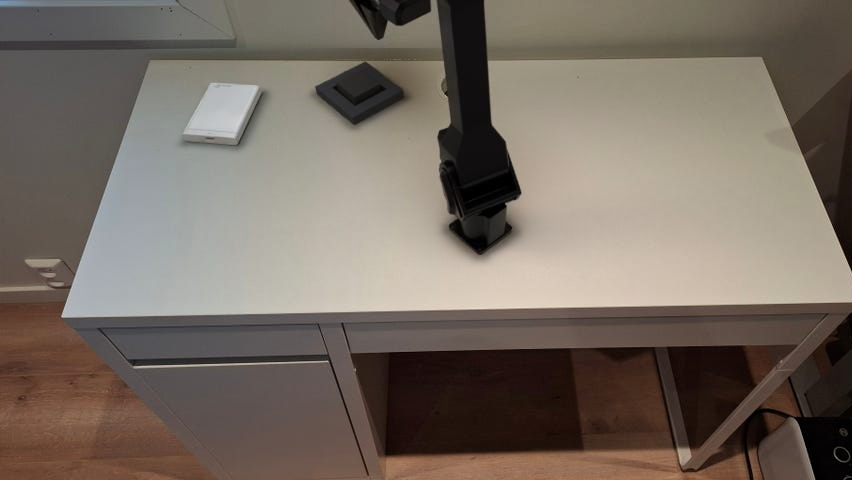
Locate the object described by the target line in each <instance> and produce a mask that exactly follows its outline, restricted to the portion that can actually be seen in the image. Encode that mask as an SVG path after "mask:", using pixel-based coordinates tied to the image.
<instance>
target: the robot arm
mask: <svg viewBox="0 0 852 480" xmlns="http://www.w3.org/2000/svg"><path fill="white" fill-rule="evenodd" d="M348 1H349V3H350V4H351V6H352V7H353V8H354V10H355V11H356V13H357V14H358V15H359V17H360V19H361V20H362V21H363V23H364V25H365V26H366V27H367V29H368V30H369V31H370V33H371V34H372V36H373V38H374V39H376V41H380V40H382V39H384V37H385V35H386V30H387V26H388V22H389V23H391V24H393V25H394V26H396V27H403V26H406V25H407V24H409V23H412V22H414V21H415V20H417V19H419V18H421V17H423V16H426V15H428V14H430V13H431V12H432V0H348ZM436 7H437V15H438V24H439V34H440V39H441V40H440V42H441V49H442V50H441V51H442V58H443V67H444V76H445V83H446V93H447V102H448V111H449V118H450V119H449V120H450V123H449V125H448V127H445V128H441V129H439V130H438V133H437V136H436V139H437V143H438V144H437V145H438V148H439V159H440V163H438V174H439V176H438V177H439V181H440V184H441V188H442V192H443V197H444V199H445V200H446V207H447V209H446V210H447V213H448V214H449V215H451V216H452V215H453V216H454V217H456V219H455V220H453V221H452V222H450V223H449V224H448V230H449V231H450V232H451V233H453V234H454V235H455V236H456V237H458V239H460V240H461V241H462V242H463V243H464V244H466V245H467V246H468V247H469V248H470V249H471V250H472V251H473V252H475V253H476V254H478V255H483V254H484V253H485V252H486V251H488V250H489V249H490V248H492V247H494V245H496V244H497V243H499V242H500V241H501V240H502V239H504V238H505V237H507V236H508V235H509V234H511V233H512V232H513V226H512V225H510V223H508V221H506V220H507V212H508V211H507V209H508V205H507V204H508V203H510V202H514V201H517V200H519V199H520V198H521V196H522V194H523V192H522V188H521V185H520V183H519V180H518V177H517V174H516V170H515V167H514V164H513V162H512V158H511V155H510V153H509V150H508V148H507V142H506V140H505V139H504V137H503V136H502V135H501V134H500V132H499V131H498V130H497V129H496V128H495V126H494V125H493V121H492V104H491V90H490V89H491V87H490V72H489V71H490V70H489V58H488V57H489V56H488V42H487V40H488V39H487V23H486V7H485V0H436Z"/></svg>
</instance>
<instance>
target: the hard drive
mask: <svg viewBox="0 0 852 480" xmlns="http://www.w3.org/2000/svg"><path fill="white" fill-rule="evenodd" d="M262 92H263V91H262V89H261V86H260V85H254V84H242V83H241V84H239V83H227V82H226V83H225V82H211V83H210V84H209V86H208V87H207V89H206V91H205V93H204V95H203V96H202V98H201V100H200V102H199V104H198V106H197V107H196V110H195V111H194V113H193V115H191V118H190V120H189V122H188V123H187V126H186V127H185V129H184V131H183V133H182V137H183V139H184V141H186V142H191V143H204V144H216V145H217V144H218V145H225V146H226V145H227V146H237V145H238V144H239V142H240V140H241V137H242V135H243V134H244V131H245V129H246V127H247V125H248V123H249V121H250V118H251V117H252V114H253V113H254V110H255V108H256V106H257V104H258V102H259V99H260V97H261V94H262Z"/></svg>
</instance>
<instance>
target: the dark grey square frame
mask: <svg viewBox="0 0 852 480" xmlns="http://www.w3.org/2000/svg"><path fill="white" fill-rule="evenodd" d="M360 70H362V71H363V72H365V73H366V74H367V75H369V76H370V77H371V78H372V79H374V80H375V81H376V82H378V83H379V84H380V90H381V92H380V93H379V94H377V95H375V96H373V97H371V98H369V99H367V100H366V101H364V102H362V103H360V104H358V105H356V106H355V105H353V104H352V103H351V102H350V101H348V100H347V99H346V98H345V97H343V96H342V95H341V94H340V93H339V92H338V89H337V84H336V82H338V81H340V80H342V79H344V78H346V77H348V76H350V75H352V74H354V73H356V72H358V71H360ZM314 88H315V92H316V94H317V96H319V97H320V98H321V99H322V100H323V101H325V102H326V103H327V104H328V105H329V106H331V107H332V108H333V109H334V110H335V111H337V112H338V113H339V114H340V115H341V116H342V117H344V118H345V119H346V120H347V121H348V122H349V123H351V124H352V125H353V126H355V125H357V124H358V123H360V122H363V121H364V120H366V119H367V118H370V117H372V116H373V115H374V114H376V113H378V112H380V111H382V110H384V109H385V108H387V107H389V106H391V105H392V104H395V103H397V102H398V101H400V100H402V99H404V98H405V92H404V89H403V88H402V87H400V86H399V85H398V84H396V83H395V82H394V81H393V80H391V79H390V78H388V77H387V76H386V75H385V74H383V73H381V72H380V71H379V70H378V69H376V68H375V67H374V66H372V65H371V64H370V63H368V62H367V61H366V60H365V61H363V62H362V63H359V64H357V65H355V66H353V67H351V68H349V69H347V70H345V71H343V72H341V73H339V74H337V75H335V76H333V77H331V78H329V79H327V80H325V81H324V82H322V83H319V84H318V85H316V86H314Z"/></svg>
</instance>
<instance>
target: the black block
mask: <svg viewBox="0 0 852 480" xmlns="http://www.w3.org/2000/svg"><path fill="white" fill-rule="evenodd" d="M336 84H337V89H338V92H339V93H340V94H341V95H342V96H343V97H345V98H346V99H347V100H348V101H350V102H351V103H352V104H353V105H355V106H356V105H358V104H360V103H362V102H364V101H366V100H367V99H369V98H371V97H373V96H375V95H377V94H379V93H380V92H381V90H380V84H379V83H378V82H376V81H375V80H374V79H372V78H371V77H370V76H369V75H367V74H366V73H365V72H363V71H362V70H360V71H358V72H356V73H354V74H352V75H350V76H348V77H346V78H344V79H342V80H340V81H338V82H336Z"/></svg>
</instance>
